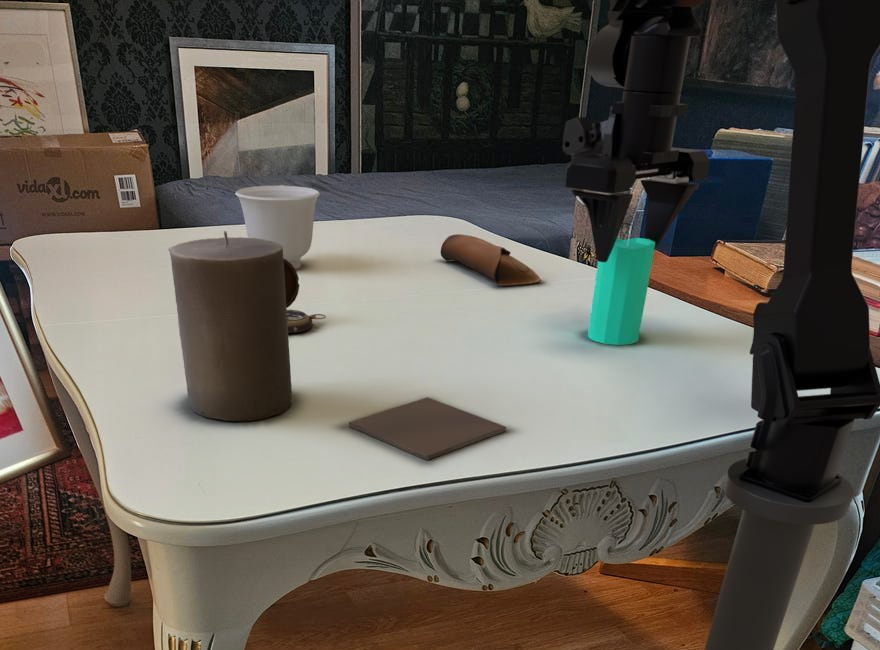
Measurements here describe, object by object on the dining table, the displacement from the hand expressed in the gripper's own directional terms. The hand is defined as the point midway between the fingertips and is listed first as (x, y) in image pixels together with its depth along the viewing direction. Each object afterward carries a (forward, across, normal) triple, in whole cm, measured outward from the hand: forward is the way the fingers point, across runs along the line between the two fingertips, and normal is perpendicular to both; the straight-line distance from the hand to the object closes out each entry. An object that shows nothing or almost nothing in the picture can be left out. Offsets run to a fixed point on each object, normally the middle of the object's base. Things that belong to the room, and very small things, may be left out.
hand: (626, 256), depth 97 cm
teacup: (+9, +7, -55) cm, 56 cm away
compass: (+9, +26, -28) cm, 39 cm away
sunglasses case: (+9, -14, -32) cm, 36 cm away
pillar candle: (+9, +46, -10) cm, 48 cm away
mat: (+9, +37, +6) cm, 38 cm away
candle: (+9, 0, 0) cm, 9 cm away
